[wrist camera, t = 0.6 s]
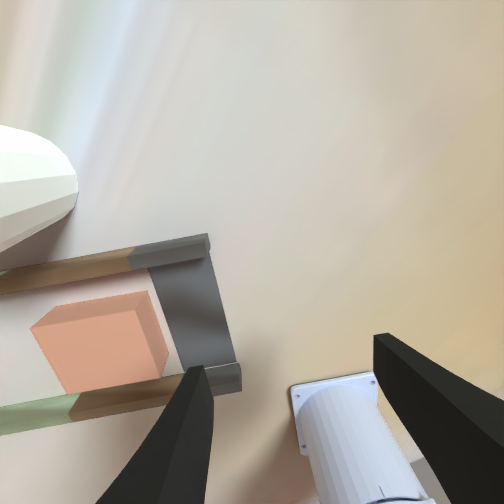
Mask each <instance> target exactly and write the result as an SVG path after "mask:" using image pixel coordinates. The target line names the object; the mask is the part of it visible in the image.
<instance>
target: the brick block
mask: <svg viewBox="0 0 504 504" xmlns="http://www.w3.org/2000/svg"><path fill="white" fill-rule="evenodd" d="M30 330H31V332H32V333H33V335H34V337H35V339H36V341H37V342H38V344H39V346H40V348H41V349H42V351H43V353H44V355H45V356H46V358H47V360H48V362H49V363H50V365H51V367H52V369H53V370H54V372H55V374H56V376H57V378H58V379H59V381H60V383H61V385H62V386H63V388H64V390H65V392H66V393H67V395H68V394H73V393H79V392H85V391H90V390H96V389H102V388H107V387H113V386H119V385H124V384H130V383H136V382H141V381H147V380H153V379H158V378H161V375H162V372H163V369H164V366H165V363H166V360H167V357H168V354H169V351H168V348H167V345H166V342H165V340H164V337H163V334H162V331H161V328H160V325H159V322H158V319H157V317H156V314H155V311H154V308H153V305H152V302H151V299H150V296H149V293H148V291H141V292H135V293H130V294H124V295H118V296H112V297H106V298H100V299H95V300H89V301H83V302H77V303H71V304H66V305H60V306H56V307H54V308H53V309H52V310H51V311H50V312H49V313H47V314H46V315H45V316H44V317H43V318H41V319H40V320H39V321H38V322H37V323H36V324H34V325H33V326H32V327H31V328H30Z"/></svg>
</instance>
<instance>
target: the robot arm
mask: <svg viewBox="0 0 504 504" xmlns="http://www.w3.org/2000/svg"><path fill="white" fill-rule="evenodd" d="M378 383H379V385H380V387H381V389H382V391H383V393H384V395H385V397H386V398H387V400H388V402H389V403H390V405H391V406H392V408H393V409H394V411H395V412H396V414H397V416H398V417H399V419H400V420H401V422H402V423H403V425H404V426H405V428H406V429H407V431H408V432H409V434H410V435H411V437H412V438H413V440H414V441H415V443H416V445H417V446H418V448H419V449H420V451H421V452H422V454H423V455H424V457H425V458H426V460H427V462H428V463H429V465H430V467H431V468H432V470H433V471H434V473H435V475H436V477H437V479H438V480H439V482H440V484H441V486H442V488H443V489H444V491H445V493H446V495H447V497H448V499H449V500H450V502H451V504H504V401H503V400H501V399H499V398H497V397H495V396H493V395H491V394H489V393H488V392H486V391H484V390H482V389H480V388H478V387H476V386H475V385H473V384H471V383H469V382H467V381H466V380H464V379H462V378H460V377H458V376H457V375H455V374H453V373H452V372H450V371H448V370H446V369H445V368H443V367H441V366H440V365H438V364H437V363H435V362H433V361H432V360H430V359H428V358H427V357H425V356H424V355H422V354H421V353H419V352H417V351H416V350H414V349H413V348H411V347H410V346H408V345H407V344H405V343H403V342H402V341H400V340H399V339H397V338H396V337H394V336H393V335H391V334H389V333H383V334H378V335H374V344H373V372H365V373H360V374H355V375H349V376H344V377H338V378H333V379H328V380H322V381H317V382H311V383H306V384H300V385H295V386H293V387H291V389H290V392H291V399H292V405H293V411H294V417H295V423H296V430H297V436H298V442H299V448H300V453H301V455H303V456H307V455H308V456H309V460H310V464H311V468H312V473H313V477H314V481H315V485H316V489H317V493H318V497H319V501H320V504H436V503H435V501H434V499H431V498H430V499H429V498H428V496H427V495H426V493H425V491H424V490H423V488H422V486H421V484H420V483H419V481H418V479H417V477H416V475H415V474H414V472H413V470H412V468H411V466H410V465H409V463H408V461H407V459H406V458H405V456H404V454H403V452H402V451H401V449H400V447H399V445H398V443H397V442H396V440H395V438H394V436H393V435H392V433H391V431H390V429H389V428H388V426H387V424H386V422H385V421H384V419H383V417H382V415H381V413H380V412H379V410H378V408H377V391H378ZM213 419H214V400H213V396H212V393H211V389H210V386H209V382H208V379H207V376H206V372H205V369H204V365H199V366H194V367H189V368H188V369H187V371H186V373H185V374H184V376H183V378H182V380H181V382H180V383H179V385H178V387H177V389H176V391H175V392H174V394H173V396H172V397H171V399H170V401H169V402H168V404H167V406H166V407H165V409H164V411H163V412H162V414H161V416H160V417H159V419H158V420H157V422H156V423H155V425H154V426H153V428H152V429H151V431H150V432H149V434H148V435H147V437H146V438H145V440H144V441H143V443H142V444H141V446H140V447H139V449H138V450H137V451H136V453H135V454H134V456H133V457H132V458H131V460H130V461H129V462H128V464H127V465H126V466H125V468H124V469H123V470H122V471H121V473H120V474H119V475H118V477H117V478H116V479H115V480H114V481H113V483H112V484H111V485H110V486H109V488H108V489H107V490H106V491H105V493H104V494H103V495H102V496H101V497H100V499H99V500H98V501H97V502H96V503H95V504H204V500H205V491H206V483H207V475H208V467H209V459H210V451H211V443H212V434H213Z"/></svg>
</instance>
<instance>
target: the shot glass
mask: <svg viewBox="0 0 504 504" xmlns="http://www.w3.org/2000/svg"><path fill="white" fill-rule="evenodd" d="M78 193H79V189H78V182H77V175H76V173H75V171H74V169H73V167H72V165H71V164H70V162H69V160H68V158H67V156H66V155H65V154H63V153H62V152H61V151H60V150H59V149H58V148H57V147H56V146H55V145H54V144H53V143H52V142H51V141H48V140H46V139H44V138H42V137H40V136H38V135H36V134H34V133H31V132H27V131H23V130H19V129H15V128H11V127H7V126H3V125H0V252H2V251H4V250H6V249H8V248H9V247H11V246H13V245H15V244H17V243H19V242H20V241H22V240H24V239H26V238H28V237H29V236H31V235H33V234H35V233H37V232H39V231H40V230H42V229H44V228H46V227H48V226H50V225H51V224H53V223H55V222H57V221H59V220H60V219H62V218H64V217H65V216H66V215H67V214H68V213H69V212H70V211H71V210H72V209H73V208H74V207H75V203H76V200H77V196H78Z"/></svg>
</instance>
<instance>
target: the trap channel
mask: <svg viewBox="0 0 504 504" xmlns="http://www.w3.org/2000/svg"><path fill="white" fill-rule="evenodd" d="M209 250H210V242H209V238H208V234H207V233H206V234H200V235H195V236H189V237H184V238H178V239H173V240H168V241H162V242H157V243H151V244H146V245H141V246H135V247H130V248H124V249H119V250H114V251H108V252H103V253H97V254H92V255H87V256H81V257H76V258H70V259H65V260H59V261H54V262H49V263H43V264H38V265H32V266H27V267H22V268H16V269H11V270H5V271H0V295H2V294H8V293H13V292H18V291H24V290H29V289H35V288H40V287H46V286H51V285H56V284H62V283H67V282H73V281H78V280H83V279H89V278H94V277H100V276H105V275H110V274H116V273H121V272H127V271H132V270H138V269H143V268H148V269H149V272H150V275H151V278H152V280H153V283H154V286H155V289H156V292H157V295H158V298H159V300H160V303H161V306H162V309H163V312H164V315H165V318H166V320H167V323H168V326H169V329H170V332H171V335H172V338H173V340H174V343H175V346H176V349H177V352H178V355H179V358H180V360H181V363H182V366H183V369H184V372H185V371H187V369H188V368H189V367H194V366H199V365H204V368H207V367H212V366H218V365H223V364H229V363H234V362H236V358H235V354H234V350H233V346H232V342H231V338H230V334H229V330H228V326H227V322H226V318H225V314H224V310H223V306H222V302H221V298H220V294H219V289H218V285H217V281H216V277H215V273H214V269H213V265H212V261H211V257H210V253H209ZM205 372H206V376H207V379H208V382H209V386H210V389H211V393H212V396H218V395H223V394H229V393H234V392H239V391H242V378H241V369H240V364H239V363H237V364H232V365H226V366H221V367H215V368H210V369H205ZM184 374H185V373H183V374H177V375H172V376H167V377H161V378H158V379H153V380H147V381H141V382H136V383H130V384H124V385H119V386H113V387H107V388H102V389H96V390H91V391H85V392H80V393H75V394H69V395H64V396H58V397H53V398H47V399H42V400H37V401H31V402H26V403H20V404H15V405H10V406H4V407H0V436H1V435H6V434H12V433H17V432H23V431H28V430H33V429H39V428H44V427H50V426H55V425H61V424H66V423H71V422H77V421H82V420H88V419H93V418H99V417H104V416H109V415H115V414H120V413H126V412H131V411H136V410H142V409H147V408H153V407H158V406H164V405H167V404H168V402H169V401H170V399H171V397H172V396H173V394H174V392H175V391H176V389H177V387H178V385H179V383H180V382H181V380H182V378H183V376H184Z"/></svg>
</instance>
